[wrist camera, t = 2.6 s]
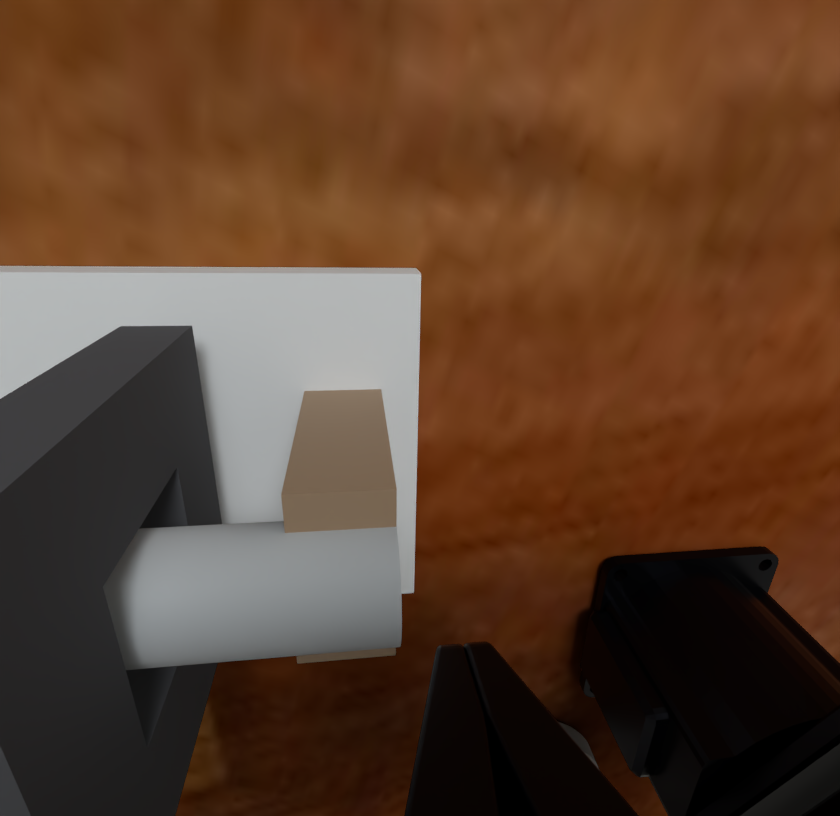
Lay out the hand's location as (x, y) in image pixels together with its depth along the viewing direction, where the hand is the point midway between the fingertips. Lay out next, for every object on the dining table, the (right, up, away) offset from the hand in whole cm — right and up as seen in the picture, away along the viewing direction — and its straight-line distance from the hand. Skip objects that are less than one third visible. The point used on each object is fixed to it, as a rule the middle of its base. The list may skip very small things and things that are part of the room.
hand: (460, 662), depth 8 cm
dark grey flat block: (-7, +2, +5) cm, 8 cm away
